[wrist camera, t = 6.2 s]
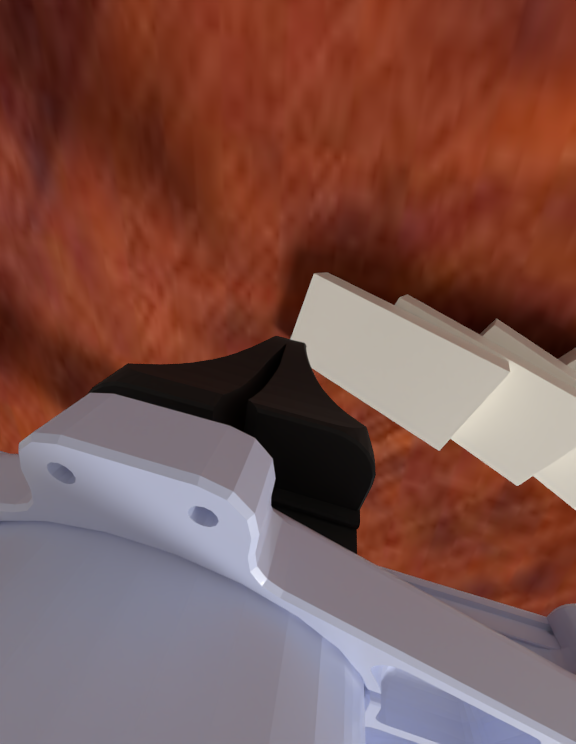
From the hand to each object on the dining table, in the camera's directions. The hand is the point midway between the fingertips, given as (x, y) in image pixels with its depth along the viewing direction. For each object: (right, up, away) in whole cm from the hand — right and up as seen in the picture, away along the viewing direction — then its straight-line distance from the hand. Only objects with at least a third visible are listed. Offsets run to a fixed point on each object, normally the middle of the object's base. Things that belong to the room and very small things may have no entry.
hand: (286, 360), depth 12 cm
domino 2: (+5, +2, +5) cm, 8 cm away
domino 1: (+1, +3, +5) cm, 6 cm away
